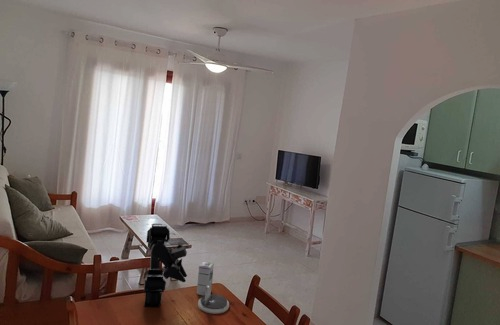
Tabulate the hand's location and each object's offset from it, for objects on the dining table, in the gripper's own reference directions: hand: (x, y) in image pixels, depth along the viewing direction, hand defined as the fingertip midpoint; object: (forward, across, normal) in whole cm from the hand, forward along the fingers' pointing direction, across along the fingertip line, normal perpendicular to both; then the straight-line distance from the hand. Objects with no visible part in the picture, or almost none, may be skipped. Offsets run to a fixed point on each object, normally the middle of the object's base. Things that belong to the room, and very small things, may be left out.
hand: (185, 279), depth 164 cm
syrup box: (+16, +17, +4) cm, 23 cm away
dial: (+18, +5, -1) cm, 19 cm away
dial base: (+19, +5, 0) cm, 20 cm away
